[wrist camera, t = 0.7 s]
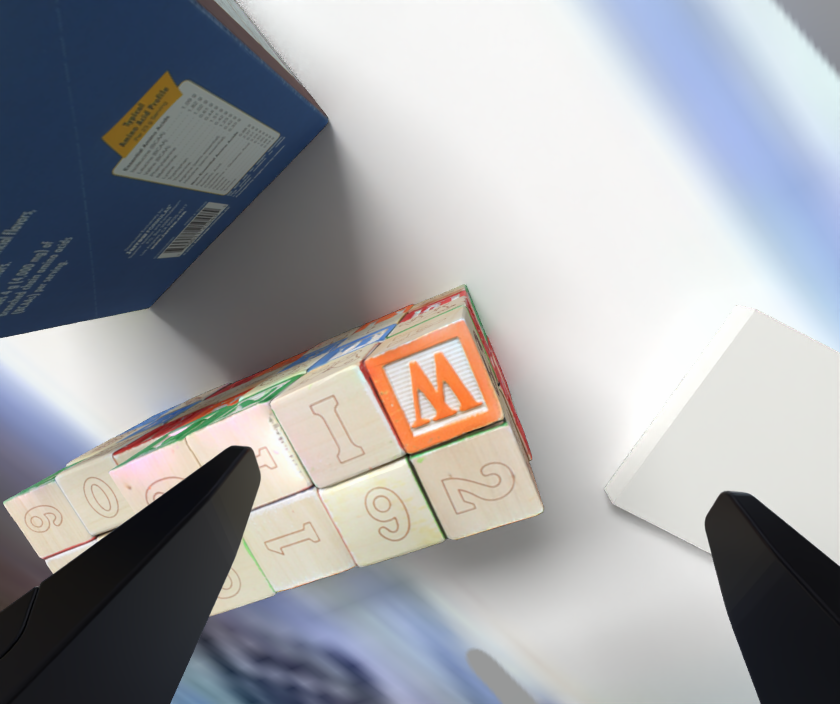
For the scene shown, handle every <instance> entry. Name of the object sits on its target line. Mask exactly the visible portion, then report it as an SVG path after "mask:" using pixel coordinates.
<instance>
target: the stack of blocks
mask: <svg viewBox="0 0 840 704" xmlns="http://www.w3.org/2000/svg"><path fill="white" fill-rule="evenodd" d="M233 445H238V446H249V447H251V448H252V449H253V450H254V453H255V456H256V459H257V463H258V466H259V469H260V473H261V481H260V486H259V489H258V492H257V495H256V498H255V501H254V504H253V507H252V510H251V513H250V516H249V519H248V522H247V525H246V528H245V531H244V534H243V537H242V540H241V543H240V546H239V549H238V552H237V555H236V557H235V560H234V562H233V564H232V567H231V569H230V571H229V574H228V576H227V578H226V580H225V582H224V585H223V587H222V589H221V591H220V594H219V596H218V598H217V600H216V603H215V605H214V607H213V609H212V611H211V614H210V616H213V615H216V614H219V613H222V612H226V611H229V610H232V609H235V608H237V607H240V606H243V605H247V604H250V603H253V602H256V601H259V600H262V599H265V598H268V597H271V596H274V595H275V594H276V593H277V592H281V591H285V590H288V589H292V588H296V587H299V586H302V585H305V584H308V583H311V582H314V581H316V580H318V579H321V578H325V577H329V576H332V575H335V574H339V573H341V572H344V571H347V570H349V569H351V568H353V567H355V566H358V567H365V566H369V565H372V564H375V563H378V562H381V561H385V560H388V559H391V558H394V557H398V556H401V555H404V554H407V553H411V552H414V551H417V550H420V549H423V548H426V547H429V546H432V545H435V544H439V543H441V542H443V541H445V539H446V538H448V539H451V540H457V539H461V538H464V537H468V536H471V535H474V534H477V533H481V532H484V531H487V530H491V529H494V528H497V527H501V526H504V525H507V524H511V523H514V522H517V521H521V520H524V519H527V518H531V517H534V516H537V515H539V514H540V513H542V512H543V511H544V506H543V503H542V500H541V497H540V494H539V491H538V488H537V485H536V482H535V478H534V475H533V472H532V469H531V466H530V463H529V461H531V460H532V455H531V452H530V448H529V446H528V442H527V440H526V436H525V433H524V431H523V428H522V425H521V423H520V421H519V419H518V416H517V414H516V411H515V408H514V405H513V402H512V398H511V395H510V392H509V389H508V385H507V382H506V380H505V378H504V375H503V373H502V370H501V368H500V365H499V363H498V360H497V358H496V356H495V353H494V351H493V348H492V346H491V344H490V341H489V338H488V337H487V336H486V334H485V331H484V329H483V326H482V324H481V321H480V319H479V316H478V314H477V311H476V309H475V306H474V304H473V301H472V299H471V297H470V294H469V291H468V289H467V286H466V285H465V284H464V285H461V286H459V287H456V288H454V289H451V290H449V291H447V292H444V293H442V294H440V295H437V296H435V297H432V298H430V299H428V300H425V301H423V302H420V303H418V304H415V305H409V306H407V307H405V308H402V309H400V310H397V311H395V312H393V313H390V314H388V315H386V316H383V317H381V318H379V319H376V320H374V321H371V322H369V323H367V324H365V325H362V326H359V327H357V328H354V329H352V330H349V331H347V332H345V333H342V334H340V335H338V336H335V337H333V338H331V339H328V340H326V341H323V342H321V343H319V344H318V345H316V346H315V347H313V348H312V349H310V350H308V351H305V352H303V353H301V354H299V355H296V356H294V357H291V358H289V359H287V360H284V361H282V362H279V363H277V364H275V365H273V366H272V367H270V368H268V369H266V370H263V371H261V372H258V373H256V374H254V375H252V376H249V377H247V378H244V379H242V380H240V381H237V382H235V383H233V384H231V383H227V384H225V385H222V386H220V387H218V388H215V389H213V390H211V391H208V392H206V393H204V394H201V395H199V396H196V397H194V398H192V399H190V400H188V401H186V402H184V403H182V404H180V405H177V406H175V407H173V408H170V409H168V410H166V411H164V412H161V413H159V414H157V415H154V416H152V417H150V418H149V419H147V420H145V421H143V422H142V423H140V424H138V425H136V426H134V427H133V428H131V429H129V430H127V431H125V432H124V433H122V434H120V435H118V436H116V437H115V438H112V439H110V440H108V441H106V442H105V443H103V444H101V445H99V446H97V447H96V448H94V449H92V450H90V451H88V452H87V453H85V454H83V455H81V456H79V457H78V458H76V459H74V460H72V461H71V462H69V463H68V464H66V467H65V468H63V469H61V470H59V471H58V472H56V473H54V474H52V475H51V476H49V477H47V478H45V479H43V480H41V481H40V482H38V483H36V484H34V485H33V486H31V487H29V488H27V489H25V490H23V491H22V492H20V493H18V494H17V495H15V496H13V497H11V498H9V499H7V500H6V501H4V502H3V504H4V506H5V507H6V509H7V510H8V512H9V513H10V515H11V516H12V517H13V519H14V520H15V521H16V523H17V524H18V526H19V527H20V529H21V530H22V532H23V533H24V535H25V536H26V538H27V539H28V541H29V542H30V544H31V545H32V547H33V548H34V550H35V551H36V553H37V554H38V555H39V557H41V558H43V559H45V561H46V564H47V565H48V567H49V568H50V570H51V571H52V573H53V574H54V573H55V572H56V571H58V570H59V569H61V568H62V567H63V566H65V565H66V564H67V563H69V562H70V561H72V560H73V559H74V558H76V557H77V556H79V555H80V554H81V553H83V552H84V551H85V550H87V549H88V548H90V547H91V546H92V545H94V544H95V543H96V542H98V541H99V540H101V539H102V538H103V537H105V536H106V535H108V534H109V533H110V532H112V531H113V530H114V529H116V528H117V527H119V526H120V525H121V524H123V523H124V522H125V521H127V520H128V519H130V518H131V517H132V516H134V515H135V514H136V513H138V512H139V511H141V510H142V509H143V508H145V507H146V506H148V505H149V504H150V503H152V502H153V501H154V500H156V499H157V498H159V497H160V496H161V495H163V494H164V493H165V492H167V491H168V490H170V489H171V488H172V487H174V486H175V485H177V484H178V483H179V482H181V481H182V480H183V479H185V478H186V477H188V476H189V475H190V474H192V473H193V472H194V471H196V470H197V469H199V468H200V467H201V466H203V465H204V464H205V463H207V462H208V461H210V460H211V459H212V458H214V457H215V456H217V455H218V454H219V453H221V452H222V451H223V450H225V449H226V448H228V447H230V446H233ZM210 616H209V617H210Z"/></svg>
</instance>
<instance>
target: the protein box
mask: <svg viewBox="0 0 840 704" xmlns="http://www.w3.org/2000/svg"><path fill="white" fill-rule="evenodd" d="M327 123H328V117H327V116H326V114H325V113H324V112H323V110H322V109H321V108H320V106H319V105H318V104H317V103H316V101H315V100H314V99H313V97H312V96H311V95H310V94H309V93H308V91H307V90H306V89H305V88H304V87H303V85H302V84H301V83H300V82H299V80H298V79H297V78H296V77H295V75H294V74H293V73H292V72H291V70H290V69H289V68H288V67H287V65H286V64H285V63H284V61H283V60H282V59H281V57H280V56H279V55H278V54H277V52H276V51H275V50H274V49H273V47H272V46H271V45H270V44H269V42H268V41H267V40H266V39H265V37H264V36H263V35H262V33H261V32H260V31H259V30H258V28H257V27H256V26H255V25H254V23H253V22H252V21H251V20H250V18H249V17H248V16H247V15H246V13H245V12H244V11H243V9H242V8H241V7H240V6H239V4H238V3H237V2H236V1H235V0H0V338H4V337H9V336H14V335H19V334H24V333H28V332H33V331H38V330H43V329H48V328H53V327H58V326H62V325H67V324H72V323H77V322H81V321H87V320H93V319H98V318H103V317H108V316H113V315H118V314H123V313H127V312H132V311H137V310H142V309H147V308H149V307H150V306H151V305H152V304H153V303H154V302H155V301H156V300H157V299H158V298H159V297H160V296H161V295H162V294H163V293H164V292H165V291H166V290H167V289H168V288H169V287H170V285H171V284H172V283H173V282H174V281H175V280H176V279H177V278H178V277H179V276H180V275H181V274H182V273H183V272H184V271H185V270H186V269H187V268H188V267H189V266H190V265H191V264H192V263H193V262H194V261H195V260H196V259H197V257H198V256H199V255H200V254H201V253H202V252H203V251H204V250H205V249H206V248H207V247H208V246H209V245H210V244H211V243H212V242H213V241H214V240H215V239H216V238H217V237H218V236H219V235H220V234H221V233H222V232H223V231H224V229H225V228H226V227H227V226H229V225H230V224H231V223H232V222H233V220H234V219H235V218H236V217H237V216H238V215H239V214H240V213H241V212H242V211H243V210H244V209H245V208H246V207H247V206H248V205H249V204H250V203H251V202H252V201H253V200H254V199H255V198H256V197H257V196H258V195H259V194H260V193H261V192H262V191H263V190H264V189H265V188H266V187H267V186H268V185H269V184H270V183H271V182H272V181H273V180H274V179H275V178H276V177H277V176H278V175H279V174H280V173H281V172H282V171H283V170H284V169H285V168H286V167H287V165H288V164H289V163H290V162H291V161H292V160H293V159H294V158H295V157H296V156H297V155H298V154H299V153H300V152H301V151H302V150H303V149H304V148H305V147H306V146H307V145H308V144H309V143H310V142H311V141H312V140H313V138H314V137H315V136H316V135H317V134H318V133H319V132H320V131H321V130H322V129H323V128H324V127H325V126H326V125H327Z"/></svg>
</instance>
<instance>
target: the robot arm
mask: <svg viewBox="0 0 840 704" xmlns="http://www.w3.org/2000/svg"><path fill="white" fill-rule="evenodd" d="M260 481H261V473H260V469H259V466H258V463H257V459H256V456H255V453H254V450H253V449H252V448H251V447H249V446H238V445H233V446H230V447H228V448H226V449H225V450H223V451H222V452H221V453H219V454H218V455H217V456H215V457H214V458H212V459H211V460H210V461H208V462H207V463H205V464H204V465H203V466H201V467H200V468H199V469H197V470H196V471H194V472H193V473H192V474H190V475H189V476H188V477H186V478H185V479H183V480H182V481H181V482H179V483H178V484H177V485H175V486H174V487H172V488H171V489H170V490H168V491H167V492H165V493H164V494H163V495H161V496H160V497H159V498H157V499H156V500H154V501H153V502H152V503H150V504H149V505H148V506H146V507H145V508H143V509H142V510H141V511H139V512H138V513H136V514H135V515H134V516H132V517H131V518H130V519H128V520H127V521H125V522H124V523H123V524H121V525H120V526H119V527H117V528H116V529H114V530H113V531H112V532H110V533H109V534H108V535H106V536H105V537H103V538H102V539H101V540H99V541H98V542H96V543H95V544H94V545H92V546H91V547H90V548H88V549H87V550H85V551H84V552H83V553H81V554H80V555H79V556H77V557H76V558H74V559H73V560H72V561H70V562H69V563H67V564H66V565H65V566H63V567H62V568H61V569H59V570H58V571H56V572H55V573H54V574H52V575H51V576H50V577H48V578H47V579H45V580H44V581H43V582H42V583H41V584H40V586H36V587H34V588H33V589H31V590H30V591H29V592H27V593H26V594H24V595H23V596H22V597H20V598H19V599H18V600H16V601H15V602H13V603H12V604H11V605H9V606H8V607H6V608H5V609H4V610H2V611H1V612H0V704H170V703H171V701H172V698H173V696H174V694H175V692H176V689H177V687H178V685H179V683H180V681H181V678H182V676H183V674H184V672H185V669H186V667H187V665H188V663H189V661H190V658H191V656H192V654H193V652H194V649H195V647H196V645H197V643H198V640H199V638H200V636H201V634H202V632H203V629H204V627H205V625H206V623H207V620H208V618H209V616H210V614H211V611H212V609H213V607H214V605H215V603H216V600H217V598H218V596H219V594H220V591H221V589H222V587H223V585H224V582H225V580H226V578H227V576H228V574H229V571H230V569H231V567H232V564H233V562H234V560H235V557H236V555H237V552H238V549H239V546H240V543H241V540H242V537H243V534H244V531H245V528H246V525H247V522H248V519H249V516H250V513H251V510H252V507H253V504H254V501H255V498H256V495H257V492H258V489H259V486H260ZM705 532H706V535H707V539H708V543H709V547H710V551H711V554H712V558H713V562H714V566H715V570H716V573H717V577H718V581H719V585H720V589H721V593H722V596H723V600H724V604H725V607H726V610H727V614H728V617H729V620H730V622H731V625H732V628H733V631H734V634H735V636H736V639H737V642H738V644H739V647H740V650H741V652H742V655H743V658H744V660H745V663H746V666H747V668H748V671H749V674H750V676H751V679H752V682H753V684H754V687H755V690H756V692H757V695H758V698H759V700H760V703H761V704H840V566H839V565H838V564H837V563H835V562H834V561H833V560H832V559H830V558H829V557H828V556H827V555H826V554H824V553H823V552H822V551H821V550H819V549H818V548H817V547H816V546H815V545H813V544H812V543H811V542H810V541H808V540H807V539H806V538H805V537H803V536H802V535H801V534H800V533H799V532H797V531H796V530H795V529H794V528H792V527H791V526H790V525H789V524H787V523H786V522H785V521H784V520H783V519H781V518H780V517H779V516H778V515H776V514H775V513H774V512H773V511H771V510H770V509H769V508H768V507H767V506H765V505H764V504H763V503H762V502H760V501H759V500H758V499H757V498H755V497H754V496H753V495H751V494H749V493H746V492H738V491H723V492H721V493H720V494H719V496H718V497H717V499H716V501H715V502H714V504H713V505H712V507H711V509H710V510H709V512H708V513H707V515H706V518H705Z"/></svg>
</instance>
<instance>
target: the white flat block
mask: <svg viewBox="0 0 840 704" xmlns="http://www.w3.org/2000/svg"><path fill="white" fill-rule="evenodd" d="M604 490H605V491H606V493H607V495H608V497H609V499H610V500H611V502H612V504H614V505H616V506H618V507H620V508H621V509H623V510H625V511H627V512H629V513H631V514H633V515H635V516H637V517H639V518H641V519H643V520H645V521H647V522H649V523H651V524H653V525H655V526H657V527H659V528H661V529H663V530H665V531H667V532H669V533H671V534H673V535H675V536H677V537H678V538H680V539H682V540H684V541H686V542H688V543H690V544H692V545H694V546H696V547H698V548H700V549H702V550H704V551H706V552H708V553H710V554H711V551H710V547H709V543H708V539H707V535H706V532H705V518H706V515H707V513H708V512H709V510H710V509H711V507H712V505H713V504H714V502H715V501H716V499H717V497H718V496H719V494H720V493H721V492H723V491H738V492H746V493H749V494H751V495H753V496H754V497H755V498H757V499H758V500H759V501H760V502H762V503H763V504H764V505H765V506H767V507H768V508H769V509H770V510H771V511H773V512H774V513H775V514H776V515H778V516H779V517H780V518H781V519H783V520H784V521H785V522H786V523H787V524H789V525H790V526H791V527H792V528H794V529H795V530H796V531H797V532H799V533H800V534H801V535H802V536H803V537H805V538H806V539H807V540H808V541H810V542H811V543H812V544H813V545H815V546H816V547H817V548H818V549H819V550H821V551H822V552H823V553H824V554H826V555H827V556H828V557H829V558H830V559H832V560H833V561H834V562H835V563H837V564H838V565H839V566H840V353H839V352H838V351H836V350H834V349H832V348H830V347H828V346H826V345H824V344H822V343H820V342H818V341H816V340H814V339H812V338H811V337H809V336H807V335H805V334H803V333H801V332H799V331H797V330H795V329H793V328H791V327H789V326H787V325H786V324H784V323H782V322H780V321H778V320H776V319H774V318H772V317H770V316H768V315H766V314H764V313H762V312H760V311H759V310H757V309H753V308H749V307H744V306H740V305H736V306H735V308H734V309H733V310H732V312H731V313H730V315H729V316H728V317H727V319H726V320H725V322H724V323H723V324H722V326H721V327H720V328H719V330H718V331H717V333H716V334H715V335H714V337H713V338H712V340H711V341H710V342H709V344H708V345H707V347H706V348H705V349H704V351H703V352H702V353H701V355H700V356H699V358H698V359H697V360H696V362H695V363H694V365H693V366H692V367H691V369H690V370H689V372H688V373H687V374H686V376H685V377H684V378H683V380H682V381H681V383H680V384H679V385H678V387H677V388H676V390H675V391H674V392H673V394H672V395H671V397H670V398H669V399H668V401H667V402H666V403H665V405H664V406H663V408H662V409H661V410H660V412H659V413H658V415H657V416H656V417H655V419H654V420H653V422H652V423H651V424H650V426H649V427H648V428H647V430H646V431H645V433H644V434H643V435H642V437H641V438H640V440H639V441H638V442H637V444H636V445H635V447H634V448H633V449H632V451H631V452H630V453H629V455H628V456H627V458H626V459H625V460H624V462H623V463H622V465H621V466H620V467H619V469H618V470H617V472H616V473H615V474H614V476H613V477H612V478H611V480H610V481H609V483H608V484H607V485H606V487H605V488H604Z"/></svg>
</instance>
